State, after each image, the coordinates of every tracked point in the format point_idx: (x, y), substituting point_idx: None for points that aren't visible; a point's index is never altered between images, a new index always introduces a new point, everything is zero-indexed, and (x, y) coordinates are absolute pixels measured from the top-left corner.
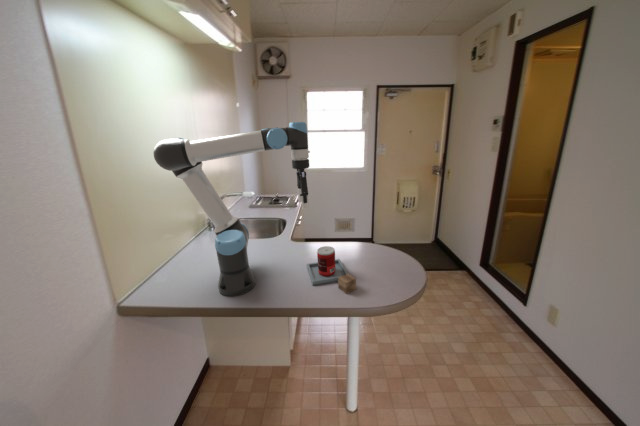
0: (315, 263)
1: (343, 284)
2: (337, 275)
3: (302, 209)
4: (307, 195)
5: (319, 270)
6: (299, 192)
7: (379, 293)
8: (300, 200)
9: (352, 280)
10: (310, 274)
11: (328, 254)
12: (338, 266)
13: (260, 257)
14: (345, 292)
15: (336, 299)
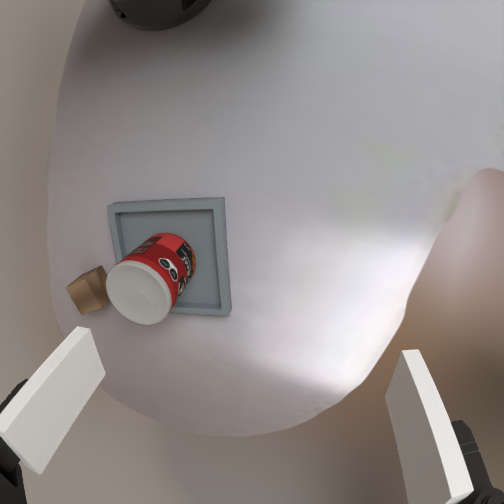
0: (215, 233)
1: (76, 280)
2: None
3: (73, 331)
4: (28, 464)
5: (150, 237)
6: (431, 461)
7: None
8: (402, 380)
9: (76, 305)
10: (145, 204)
11: (108, 293)
12: (200, 299)
13: (362, 34)
14: (82, 274)
15: (65, 248)
